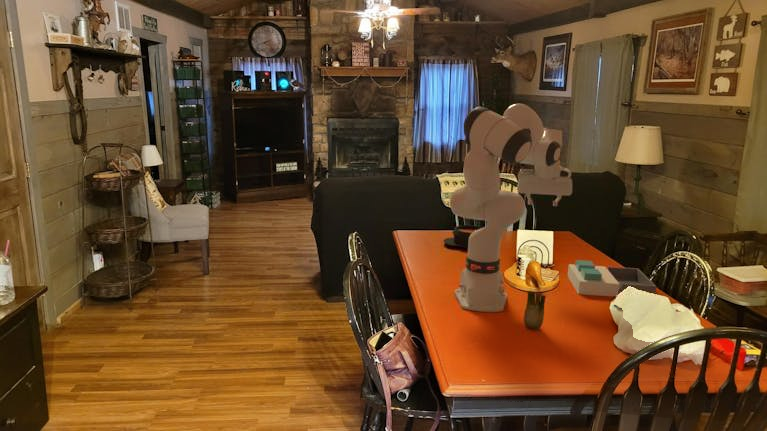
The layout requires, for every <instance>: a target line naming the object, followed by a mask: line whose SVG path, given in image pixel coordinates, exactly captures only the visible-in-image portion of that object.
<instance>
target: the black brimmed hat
mask: <svg viewBox="0 0 767 431" xmlns="http://www.w3.org/2000/svg"><path fill="white" fill-rule="evenodd" d="M481 228H484V226H483V227H482V226H479V225H472V224H471V225H470V224H464V225H463V224H462V225H457V226H455V227H454V229H453V230H452V235H453V237H446V238H444V239H443V243H444V244H446V245H447V246H453V247H460V248H462V249H467V250H468V242H469V236H470V235H471V233H473V232H474V231H476V230H478V229H481Z"/></svg>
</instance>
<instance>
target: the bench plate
mask: <svg viewBox="0 0 767 431" xmlns="http://www.w3.org/2000/svg"><path fill="white" fill-rule="evenodd" d="M567 267H568V269H567V278H568V279H569V281H570V283H571V284H572V286H573V288H574V289H575V291H576V292H577V294H578V295H584V296H586V295H587V296H601V297H602V296H603V297H613V296H616V295H618V292H619V285H620V284H619V283H618V281H617V280H616V279H615V278H614V277H613V275H612V274H611V273H610V272H609V271H608V267H606V266H603V265H595V269H598V270H599V271H600V273H601V274H602V277H601V281H594V280H584V279H583V277H582V276H581V271H578V270H577V268H576V267H575V264H574V263H573V264H568V266H567Z"/></svg>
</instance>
